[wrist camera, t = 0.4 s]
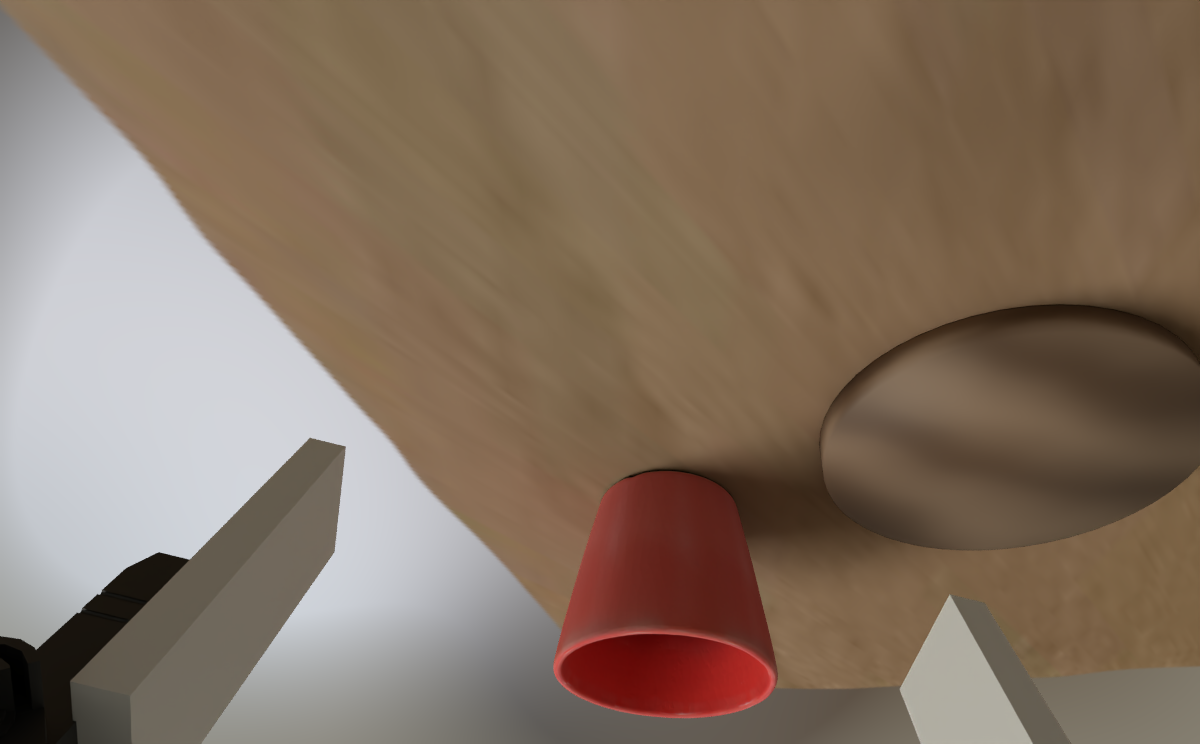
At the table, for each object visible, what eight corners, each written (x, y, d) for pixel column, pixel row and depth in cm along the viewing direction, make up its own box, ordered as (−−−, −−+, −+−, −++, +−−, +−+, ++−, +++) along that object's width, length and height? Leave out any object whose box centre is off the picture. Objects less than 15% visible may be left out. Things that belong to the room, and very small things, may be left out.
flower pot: (808, 511, 40) (829, 691, 33) (671, 573, 47) (665, 734, 40) (668, 422, 36) (660, 610, 29) (538, 505, 42) (508, 673, 36)
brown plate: (916, 270, 28) (924, 295, 27) (1305, 348, 28) (1327, 376, 27) (773, 496, 39) (774, 520, 38) (1052, 546, 40) (1061, 571, 39)
